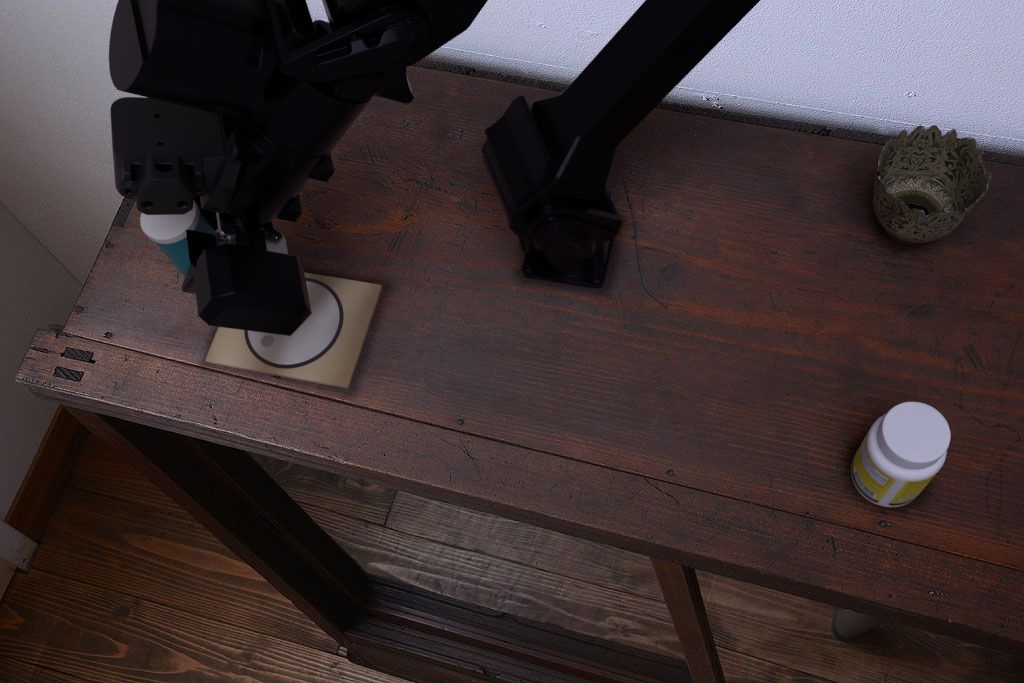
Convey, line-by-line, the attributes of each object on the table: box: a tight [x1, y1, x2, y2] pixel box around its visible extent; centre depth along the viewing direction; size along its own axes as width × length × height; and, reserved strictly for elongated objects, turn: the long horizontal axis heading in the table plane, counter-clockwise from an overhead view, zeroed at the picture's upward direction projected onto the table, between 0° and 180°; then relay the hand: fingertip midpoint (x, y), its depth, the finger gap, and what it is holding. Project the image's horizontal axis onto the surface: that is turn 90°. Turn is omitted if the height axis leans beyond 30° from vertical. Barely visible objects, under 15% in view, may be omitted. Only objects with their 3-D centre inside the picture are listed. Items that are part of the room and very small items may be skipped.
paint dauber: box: [139, 200, 217, 278], centre depth 65 cm, size 4×4×12 cm
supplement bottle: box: [850, 401, 952, 508], centre depth 63 cm, size 5×5×8 cm
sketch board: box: [204, 271, 383, 390], centre depth 77 cm, size 12×9×1 cm
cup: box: [872, 124, 993, 246], centre depth 71 cm, size 8×7×8 cm
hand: (186, 267), depth 65 cm, fingers closed on paint dauber, 3 cm apart
